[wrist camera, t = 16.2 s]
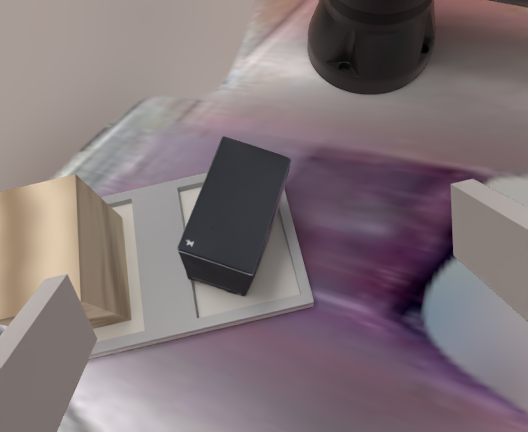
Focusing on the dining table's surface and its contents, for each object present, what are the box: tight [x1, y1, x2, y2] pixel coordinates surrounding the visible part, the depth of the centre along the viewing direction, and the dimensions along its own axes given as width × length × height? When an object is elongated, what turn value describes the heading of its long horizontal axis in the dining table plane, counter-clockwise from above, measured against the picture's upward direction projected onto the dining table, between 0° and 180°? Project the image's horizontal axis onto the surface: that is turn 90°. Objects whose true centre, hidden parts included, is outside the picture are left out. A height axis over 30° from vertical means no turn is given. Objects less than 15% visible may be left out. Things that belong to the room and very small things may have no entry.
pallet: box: [88, 172, 314, 360], centre depth 43 cm, size 27×16×2 cm, turn 102°
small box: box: [177, 136, 291, 296], centre depth 37 cm, size 11×6×10 cm, turn 163°
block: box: [0, 174, 132, 329], centre depth 38 cm, size 7×11×10 cm, turn 12°
